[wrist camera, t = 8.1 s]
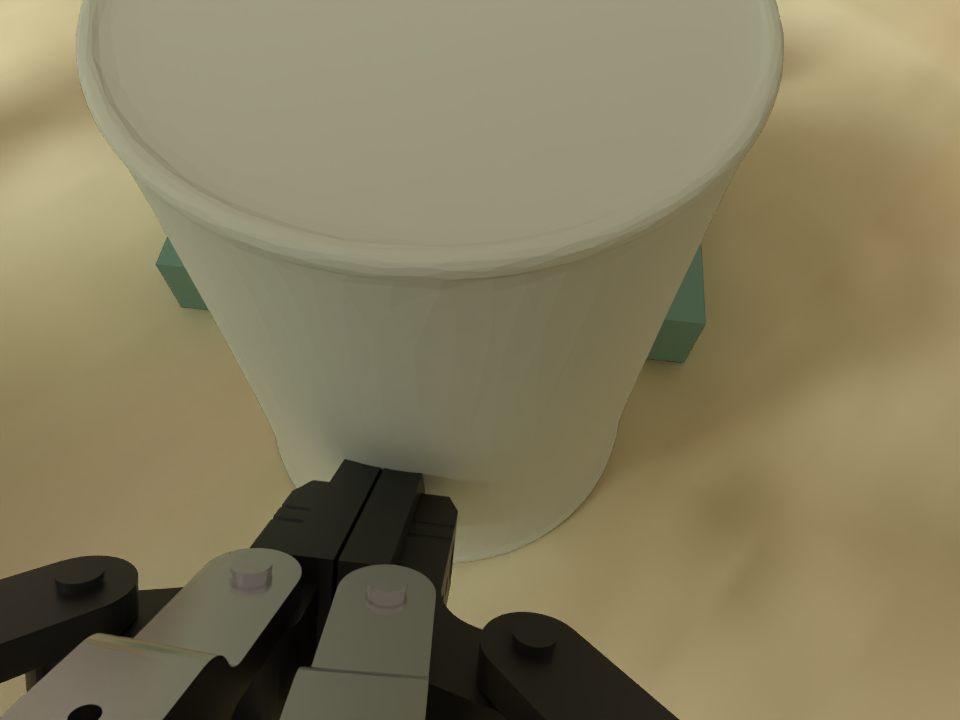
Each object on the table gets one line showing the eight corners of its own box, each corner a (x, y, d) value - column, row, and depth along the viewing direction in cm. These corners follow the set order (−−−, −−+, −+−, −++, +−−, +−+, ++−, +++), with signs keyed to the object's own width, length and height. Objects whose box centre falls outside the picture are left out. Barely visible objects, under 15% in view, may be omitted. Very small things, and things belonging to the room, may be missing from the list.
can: (542, 228, 22) (616, -245, 12) (677, 495, 18) (975, 119, 8) (246, 303, 21) (32, -174, 10) (317, 620, 16) (69, 350, 6)
